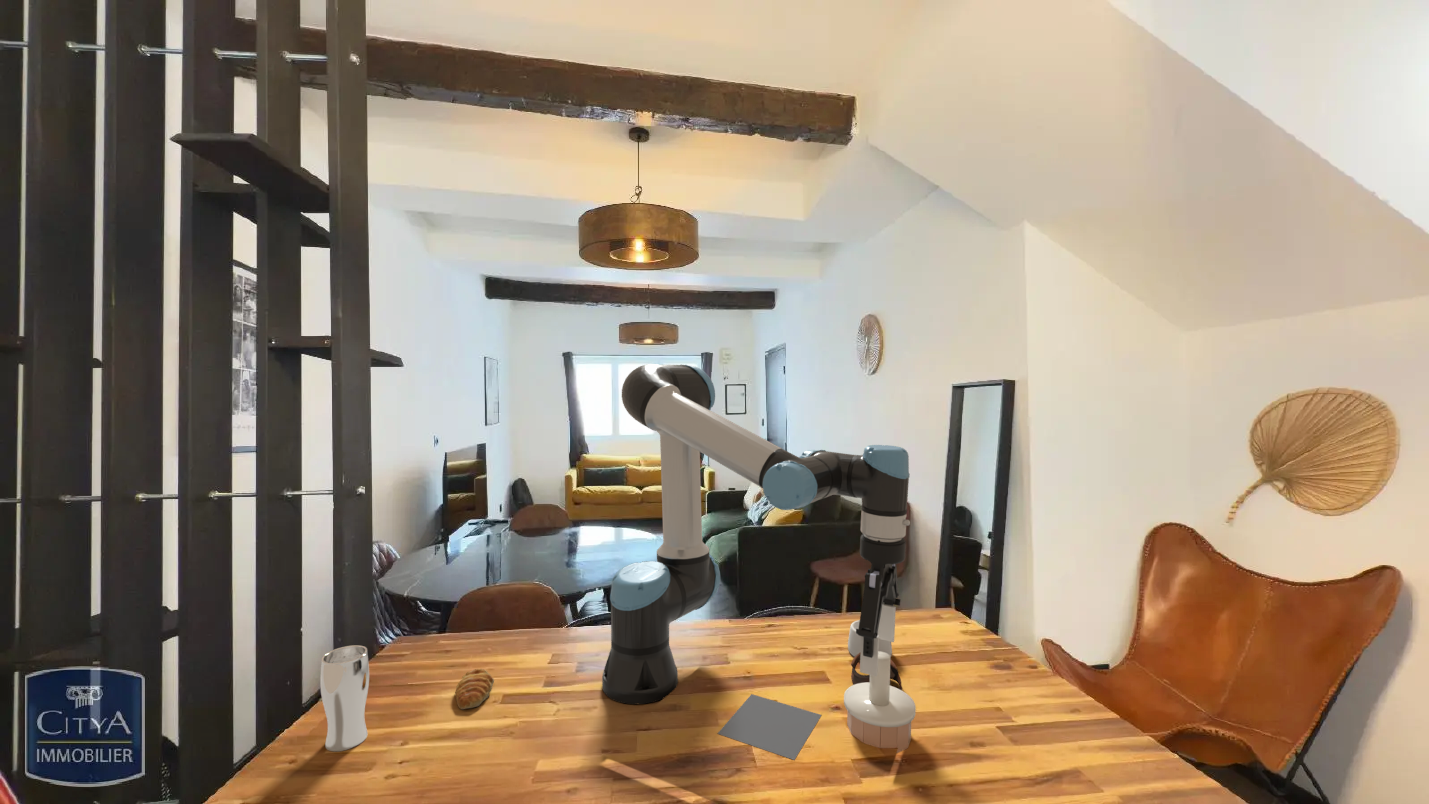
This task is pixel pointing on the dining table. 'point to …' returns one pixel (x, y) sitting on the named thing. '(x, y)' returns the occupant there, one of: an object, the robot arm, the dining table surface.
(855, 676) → the broken pottery
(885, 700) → the lid
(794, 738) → the mat
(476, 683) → the pastry
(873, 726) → the bowl
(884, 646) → the mug
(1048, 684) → the dining table surface
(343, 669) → the beer glass
